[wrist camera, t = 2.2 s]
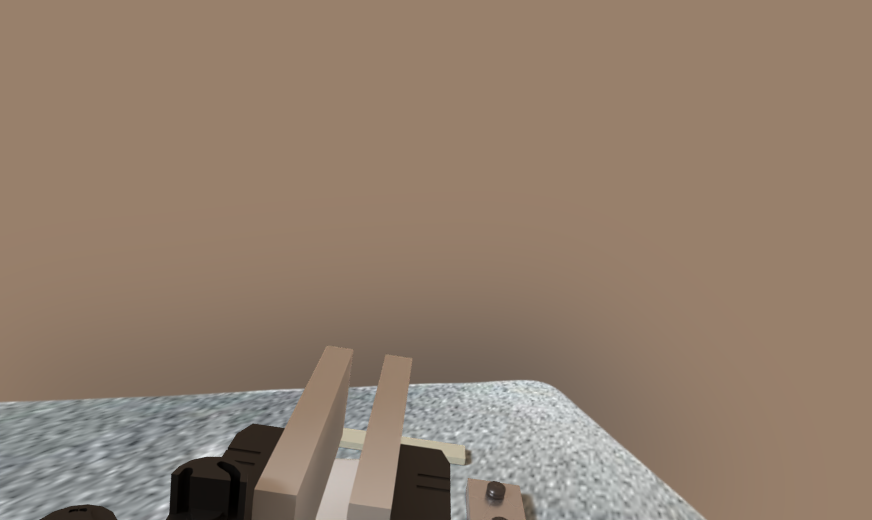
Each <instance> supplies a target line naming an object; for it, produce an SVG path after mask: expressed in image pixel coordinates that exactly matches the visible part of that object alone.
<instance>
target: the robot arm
mask: <svg viewBox="0 0 872 520" xmlns="http://www.w3.org/2000/svg"><path fill="white" fill-rule="evenodd" d="M352 357H353V349H347V348H341V347H334V346H327V347H326V348H325V351H324V352H323V355H322V356H321V358H320V360H319V362H318V364H317V366H316V368H315V370H314V372H313V374H312V376H311V378H310V380H309V382H308V384H307V386H306V388H305V390H304V392H303V394H302V396H301V398H300V400H299V402H298V404H297V406H296V408H295V410H294V412H293V414H292V416H291V417H290V419H289V421H288V423H287V425H286V427H285V428H280V427H273V426H266V425H259V424H252V425H250V426H248V427H247V428H245V429H244V430H242V431H241V432H239V433H237V434H236V436H235V437H234V439H233V441H232V442H231V444H230V445H229V447H228V450H226V451H225V453H224V455H223V456H222V457H204V458H199V459H194V460H191V461H189V462H187V463H185V464H183V465H181V466H179V467H178V468H177V469H176V470H175V471H174V472H173V473H172V474H171V492H170V512H169V515H168V517H167V519H166V520H315V519H316V516H317V513H318V510H319V507H320V504H321V501H322V498H323V494H324V491H325V488H326V485H327V482H328V479H329V476H330V473H331V469H332V466H333V463H334V460H335V457H336V454H337V451H338V448H339V444H340V441H341V438H342V435H343V428H344V420H345V412H346V404H347V397H348V389H349V381H350V373H351V365H352ZM411 365H412V358H407V357H400V356H394V355H386V356H385V360H384V364H383V368H382V372H381V376H380V380H379V384H378V388H377V392H376V396H375V400H374V404H373V408H372V412H371V416H370V420H369V424H368V428H367V432H366V436H365V440H364V444H363V448H362V452H361V456H360V460H359V464H358V468H357V472H356V476H355V480H354V484H353V488H352V492H351V496H350V500H349V505H348V512H347V520H451V504H450V463H449V461H448V459H447V458H446V456H445V455H444V453H443V451H442V450H440V449H433V448H426V447H419V446H412V445H406V444H400V443H401V436H402V429H403V422H404V415H405V407H406V400H407V393H408V386H409V378H410V371H411ZM40 520H117V518H116V517H115V515H114V513H113V512H112V511H110V510H108V509H106V508H104V507H102V506H95V505H88V504H87V505H77V506H70V507H67V508H64V509H60V510H57V511H54V512H52V513H51V514H49V515H47V516H45V517H44V518H42V519H40Z"/></svg>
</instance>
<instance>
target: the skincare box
mask: <svg viewBox="0 0 872 520" xmlns="http://www.w3.org/2000/svg"><path fill="white" fill-rule="evenodd" d="M359 460H360V459H336V458H335V460H334V463H333V466H332V469H331V473H330V476H329V479H328V482H327V485H326V488H325V491H324V494H323V498H322V501H321V504H320V507H319V510H318V513H317V516H316V519H315V520H347V512H348V505H349V500H350V496H351V492H352V488H353V484H354V480H355V476H356V472H357V468H358V464H359Z"/></svg>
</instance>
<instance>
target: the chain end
mask: <svg viewBox="0 0 872 520" xmlns="http://www.w3.org/2000/svg"><path fill="white" fill-rule="evenodd" d="M466 513H467V520H526V518H525V513H524V508H523V502H522V497H521V492H520V487H519V486H518V485H511V484H504V483H500V482H496V481H492V482H491V481H484V480H477V479H470V478H468V481H467V486H466Z"/></svg>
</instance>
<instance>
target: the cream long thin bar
mask: <svg viewBox="0 0 872 520" xmlns="http://www.w3.org/2000/svg"><path fill="white" fill-rule="evenodd" d="M366 432H367V431H361V430H354V429H348V428H343V435H342V438H341V441H340V444H339V447H343V448H350V449H356V450H362V448H363V444H364V440H365V436H366ZM400 444H406V445H412V446H419V447H426V448H433V449H440V450H442V451H443V453H444V455H445V456H446V458H447V459H448V461H449V463H451V464H458V465H464V464H465V446H463V445H456V444H449V443H442V442H436V441H429V440H422V439H415V438H408V437H402V436H401V443H400Z"/></svg>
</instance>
